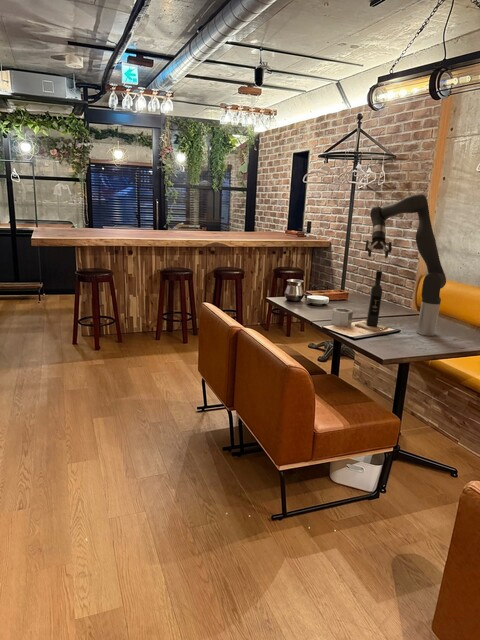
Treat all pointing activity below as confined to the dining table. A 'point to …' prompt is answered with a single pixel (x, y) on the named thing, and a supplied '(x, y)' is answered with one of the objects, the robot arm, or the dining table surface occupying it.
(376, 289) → the wine bottle
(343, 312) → the wooden sleeve
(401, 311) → the dining table surface
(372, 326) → the oak board
